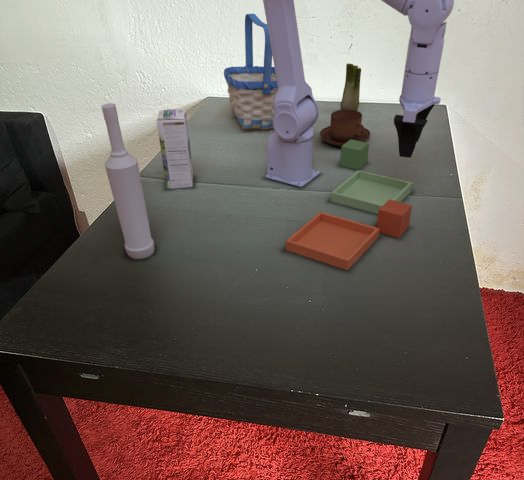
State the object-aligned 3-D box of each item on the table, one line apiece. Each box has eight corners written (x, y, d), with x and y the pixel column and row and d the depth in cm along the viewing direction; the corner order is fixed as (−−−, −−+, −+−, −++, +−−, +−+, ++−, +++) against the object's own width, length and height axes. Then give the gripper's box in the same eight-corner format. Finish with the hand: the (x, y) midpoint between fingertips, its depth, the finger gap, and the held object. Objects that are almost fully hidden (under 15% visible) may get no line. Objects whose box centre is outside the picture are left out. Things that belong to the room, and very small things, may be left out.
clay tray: (285, 250, 93) (285, 240, 92) (319, 220, 100) (320, 211, 99) (347, 270, 88) (348, 260, 86) (378, 237, 95) (379, 228, 94)
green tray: (330, 201, 106) (330, 192, 104) (357, 178, 113) (358, 169, 112) (386, 216, 100) (387, 207, 99) (411, 191, 108) (412, 182, 106)
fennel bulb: (359, 116, 140) (364, 67, 132) (341, 117, 140) (344, 67, 132) (356, 109, 144) (360, 60, 136) (338, 109, 144) (341, 61, 136)
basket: (299, 131, 134) (300, 25, 118) (235, 139, 131) (228, 31, 115) (279, 105, 148) (278, 7, 132) (222, 111, 146) (214, 13, 130)
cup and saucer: (377, 137, 129) (380, 111, 125) (356, 154, 122) (359, 127, 118) (333, 128, 134) (335, 103, 130) (311, 145, 127) (312, 118, 123)
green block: (339, 166, 118) (341, 146, 115) (349, 158, 120) (350, 139, 117) (358, 170, 116) (360, 150, 113) (367, 162, 119) (369, 143, 115)
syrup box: (167, 178, 116) (156, 109, 106) (194, 176, 116) (185, 107, 106) (166, 189, 112) (154, 119, 102) (194, 187, 112) (185, 117, 102)
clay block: (375, 231, 97) (378, 209, 93) (385, 221, 99) (389, 199, 96) (398, 238, 95) (402, 215, 92) (408, 227, 97) (412, 205, 94)
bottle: (160, 246, 95) (132, 101, 78) (147, 261, 92) (114, 113, 75) (135, 242, 97) (102, 98, 80) (121, 257, 93) (83, 110, 76)
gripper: (439, 84, 84) (424, 166, 93) (450, 60, 94) (436, 136, 103) (395, 80, 86) (385, 161, 95) (411, 57, 96) (400, 132, 105)
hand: (409, 148), depth 99 cm, fingers open, 7 cm apart
